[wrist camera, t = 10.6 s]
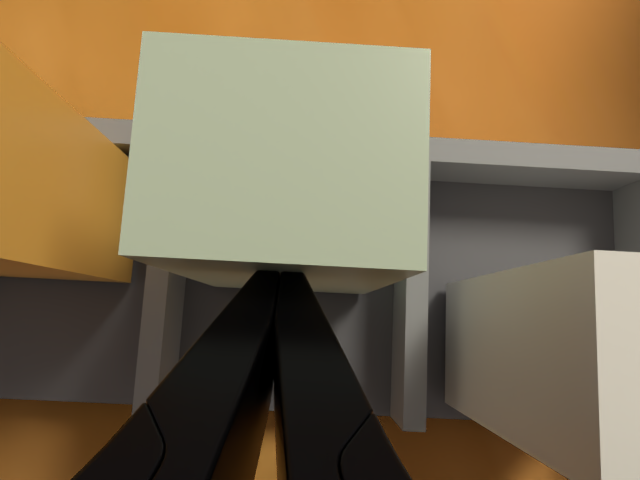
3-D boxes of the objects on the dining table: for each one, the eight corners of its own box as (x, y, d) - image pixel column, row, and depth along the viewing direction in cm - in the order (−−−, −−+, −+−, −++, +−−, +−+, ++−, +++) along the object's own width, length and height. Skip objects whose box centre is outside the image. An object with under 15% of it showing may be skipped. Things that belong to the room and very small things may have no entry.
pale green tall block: (363, 294, 15) (426, 270, 7) (214, 286, 15) (118, 255, 7) (367, 182, 16) (430, 49, 8) (223, 174, 16) (142, 31, 8)
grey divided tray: (637, 420, 17) (717, 445, 13) (-81, 387, 16) (-176, 405, 13) (628, 181, 18) (697, 152, 15) (-41, 144, 17) (-119, 105, 14)
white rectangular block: (595, 409, 15) (917, 513, 7) (444, 402, 15) (601, 499, 7) (591, 291, 16) (887, 265, 8) (446, 283, 15) (594, 250, 8)
